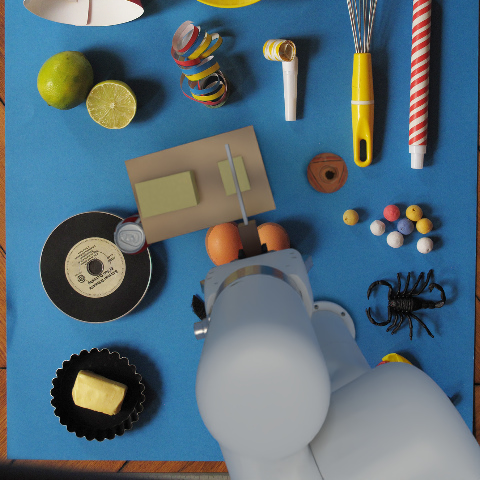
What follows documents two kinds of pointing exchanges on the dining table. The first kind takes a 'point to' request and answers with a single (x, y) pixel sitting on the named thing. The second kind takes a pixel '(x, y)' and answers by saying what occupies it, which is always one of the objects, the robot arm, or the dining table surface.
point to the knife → (245, 220)
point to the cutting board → (204, 183)
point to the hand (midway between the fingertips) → (255, 258)
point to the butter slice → (228, 178)
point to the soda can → (131, 235)
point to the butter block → (167, 194)
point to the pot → (327, 172)
